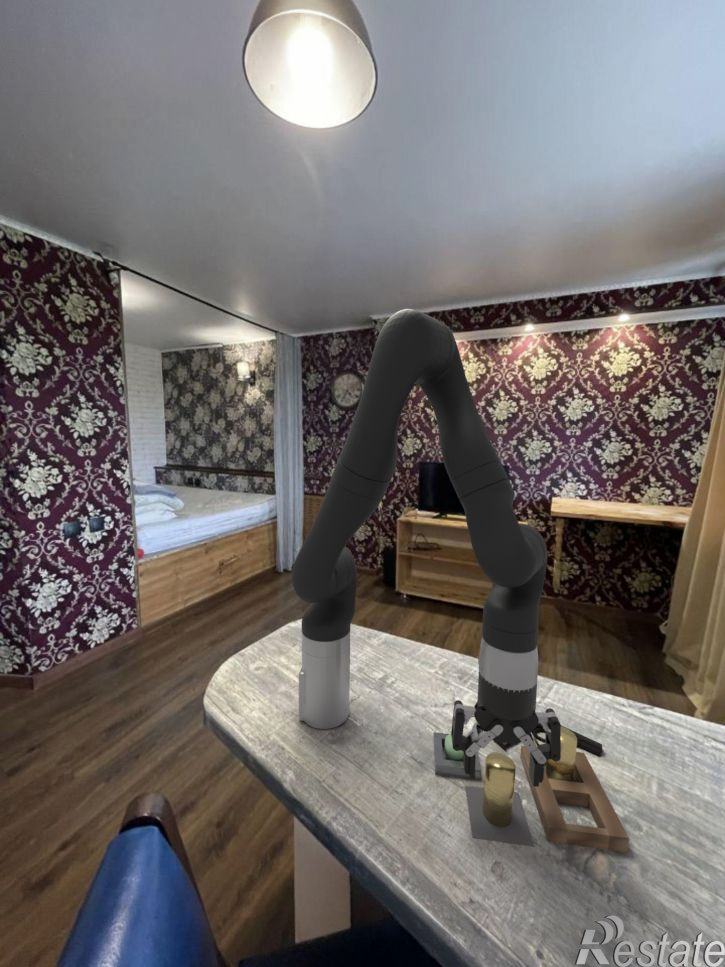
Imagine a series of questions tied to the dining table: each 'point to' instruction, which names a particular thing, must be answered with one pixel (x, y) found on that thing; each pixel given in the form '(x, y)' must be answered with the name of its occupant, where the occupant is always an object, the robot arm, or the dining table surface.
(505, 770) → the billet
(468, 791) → the mat
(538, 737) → the handgun
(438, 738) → the button housing
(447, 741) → the button
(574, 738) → the billet seated
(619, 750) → the dining table surface
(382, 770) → the dining table surface
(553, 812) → the brown wooden rectangular frame
